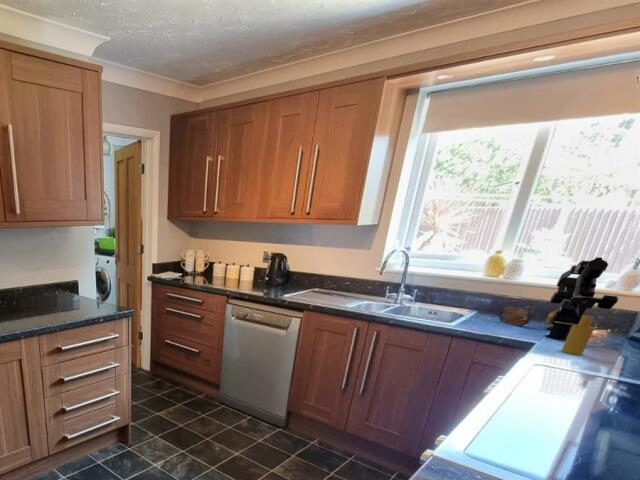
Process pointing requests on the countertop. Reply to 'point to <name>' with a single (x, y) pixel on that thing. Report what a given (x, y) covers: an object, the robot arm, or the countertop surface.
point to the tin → (515, 315)
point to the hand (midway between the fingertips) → (579, 316)
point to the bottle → (578, 336)
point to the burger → (547, 323)
